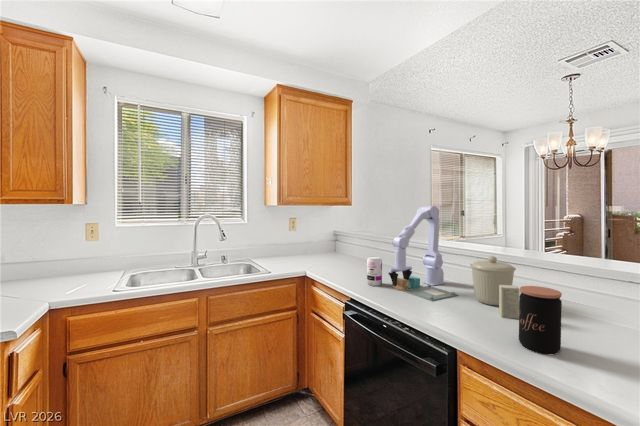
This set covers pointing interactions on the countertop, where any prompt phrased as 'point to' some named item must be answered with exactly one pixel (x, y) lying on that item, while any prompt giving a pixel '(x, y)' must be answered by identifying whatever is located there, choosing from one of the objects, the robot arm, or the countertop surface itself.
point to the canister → (490, 279)
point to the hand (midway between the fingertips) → (400, 284)
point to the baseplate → (431, 293)
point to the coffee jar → (540, 319)
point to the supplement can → (374, 271)
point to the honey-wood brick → (401, 284)
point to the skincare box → (509, 301)
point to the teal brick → (414, 282)
